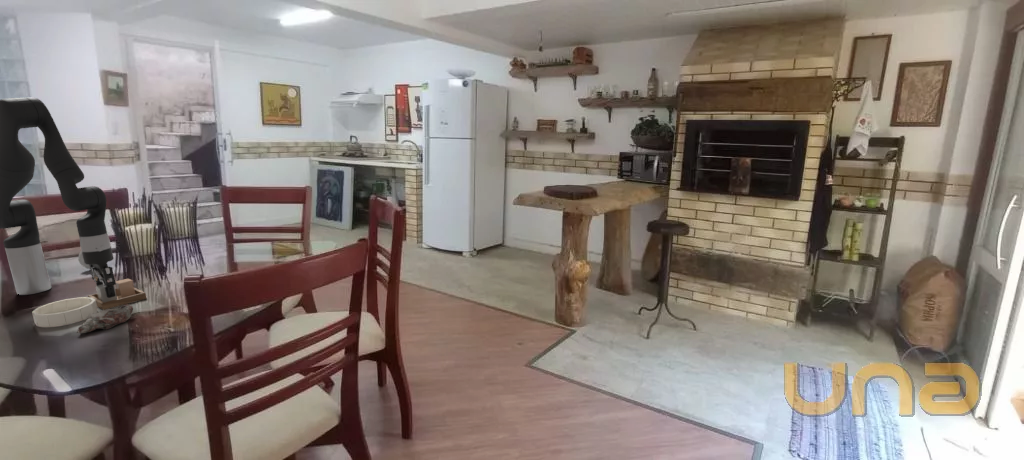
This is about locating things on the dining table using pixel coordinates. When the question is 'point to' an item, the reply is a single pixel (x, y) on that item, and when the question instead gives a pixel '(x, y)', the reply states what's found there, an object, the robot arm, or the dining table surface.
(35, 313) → the cream bowl
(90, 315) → the mineral rock
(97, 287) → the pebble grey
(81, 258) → the donut
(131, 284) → the tan block
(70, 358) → the dining table surface
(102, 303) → the walnut tray
